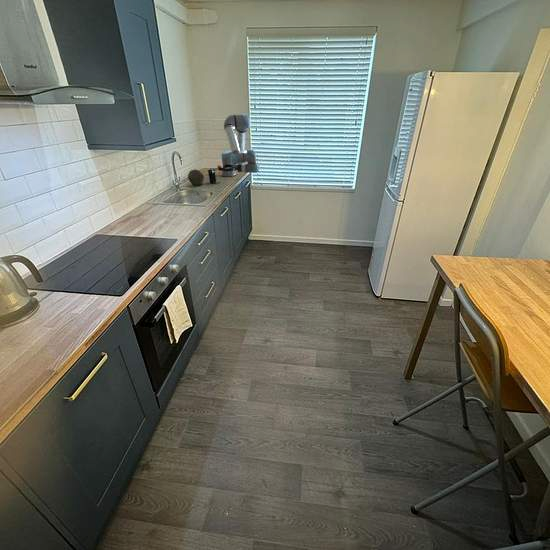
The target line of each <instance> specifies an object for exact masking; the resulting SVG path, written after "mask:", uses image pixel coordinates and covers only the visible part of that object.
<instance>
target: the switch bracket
mask: <svg viewBox="0 0 550 550" xmlns="http://www.w3.org/2000/svg"><path fill="white" fill-rule="evenodd" d="M212 169H213V170H214V169H215V168H210V169H207V172H208V181H207V182H205V184H206V185H209V184H210V185H217V184H219V183H220V182H221V180H217V177H216V170H214V172H213V170H212Z"/></svg>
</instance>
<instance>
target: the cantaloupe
mask: <svg viewBox="0 0 550 550" xmlns="http://www.w3.org/2000/svg"><path fill="white" fill-rule="evenodd" d="M204 177H205V176H204V174H203V173H202V171H200V170H199V169H192V170H190V171H189V172H188V174H187V179H188V181H189V183H190V184H191V185H193V186H194V187H195V186H196V187H198V186H201V185H202V184H203V183H204V179H205V178H204Z"/></svg>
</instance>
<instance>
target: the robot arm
mask: <svg viewBox="0 0 550 550" xmlns="http://www.w3.org/2000/svg"><path fill="white" fill-rule="evenodd" d="M250 121H251V120H250V118H249V115H248V114H247V113H242V114H229V115H228V116H227V117H226V119H225V120H224V123H223V129H224V132H225V133H226V136H227V140H228V144H229V148H230V150H227V151H223V152H222V153H221V163H222V166H221V167H218V166H217V168H218V169H217V170H218V171H219V172H221V176H222V177H226V178H227V177H228V178H229V177H230V178H231V177H235V176H237V172H238V173H244V174H247V173H250V174H251V173H252V174H256V173H257V174H258V173H259V171H260V165H259V164H258V163H257V156H256V155H257V154H256V150H255V149H251V148H250V149H247V150H246V139H247V132H248V131H249V129H250V128H251V122H250Z"/></svg>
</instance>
